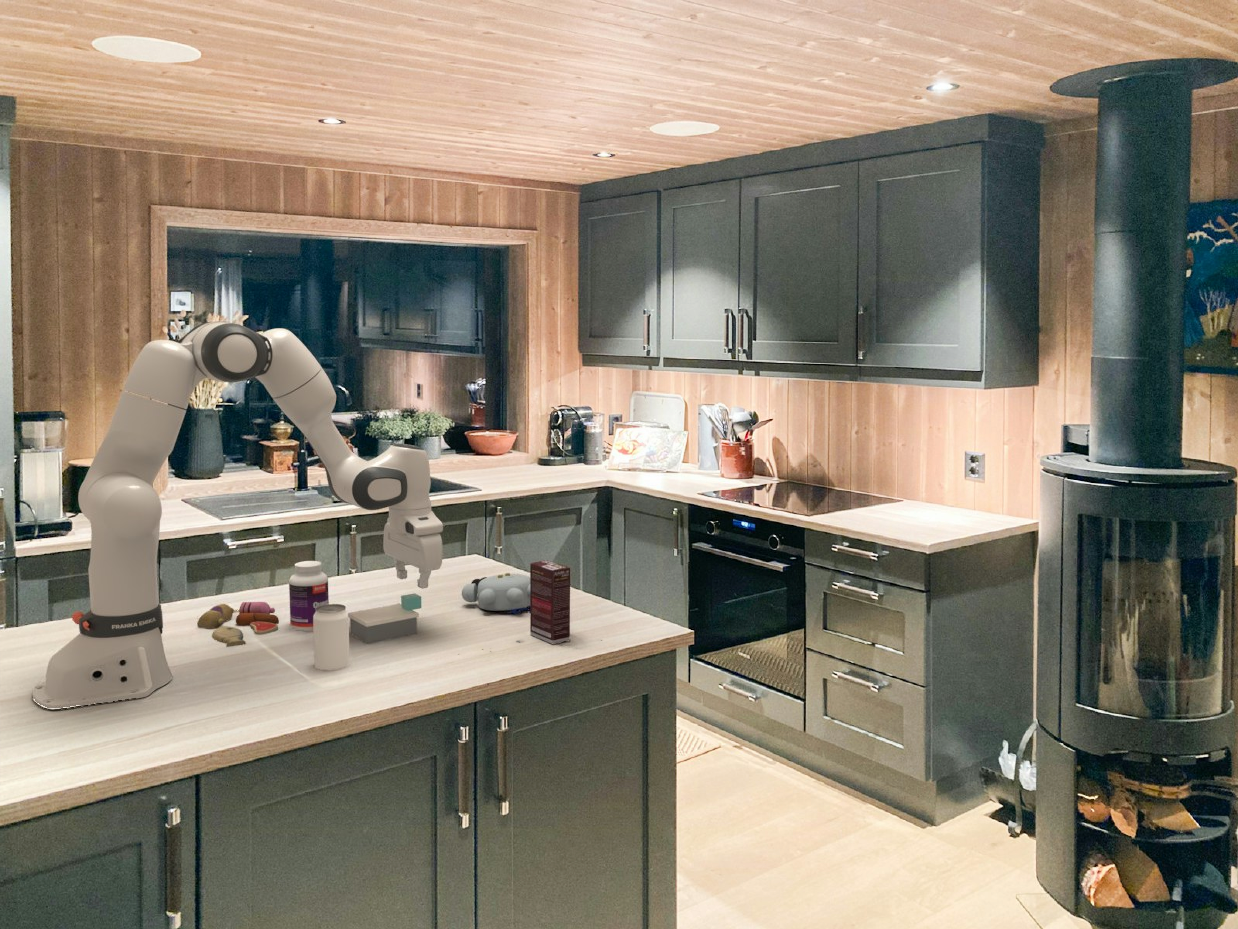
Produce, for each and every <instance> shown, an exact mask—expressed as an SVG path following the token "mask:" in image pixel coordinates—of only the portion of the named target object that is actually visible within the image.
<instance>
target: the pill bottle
mask: <svg viewBox="0 0 1238 929" xmlns="http://www.w3.org/2000/svg"><path fill="white" fill-rule="evenodd" d="M322 565H323V564H322V562H321V561H316V560H304V561H299V562H296V563H294V572H295V573H294V574H292V575H291V576H290V578H289V579H288V589H289V591H288V592H289V618H290V619H289V622H290V623H289V625H290V628H291V629H292V630H295V631H299V632H300V631H302V632H307V631H308V632H309V631H311V632H312V631H314V630H313V616H314V614H315V612H316V610H315V608H316V607H318V606H321V605H326V604H330V602H329V600H330V599H329V578H328V575H327V574H325V572H322Z"/></svg>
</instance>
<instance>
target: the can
mask: <svg viewBox="0 0 1238 929" xmlns="http://www.w3.org/2000/svg"><path fill="white" fill-rule="evenodd" d="M346 608H347V607H346V606H345V605H344V604H340V603H339V604H338V603H329V604H326V605H321V606H318V607H316V608H315V610H316V612H315V614H314V616H313V630H312V631H313V653H314V654H313V656H314V657H313V658H314V660H313V661H314V667H315V669H316V670H320V671H337V670H341V669H345V668H346V667H349V666H350V630H349V627H350V625H349V623H350V622H349V617H348V613H349V612H348V611H347V610H346Z"/></svg>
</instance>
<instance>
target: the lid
mask: <svg viewBox="0 0 1238 929" xmlns="http://www.w3.org/2000/svg"><path fill="white" fill-rule="evenodd" d="M400 598H401V600H400V602H401V603H396V604H391V605H386V606H385V605H383V606H380V607H375V608H368V609H363V610H358V611H353V612H347V613H348V618H349V619H350V618H351V619H353V620H355V621H357V622H359V623H360V624H362V625H364V626H366V627H368V626H374V625H379V624H384V623H389V622H394V621H400V620H405V619H410V618H415V617H417V618H419V612H417V611H415V610H420V609H422V596H421V595H419V594H416V593H414V592H413V593H409V594H403V595H401V596H400Z"/></svg>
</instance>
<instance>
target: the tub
mask: <svg viewBox="0 0 1238 929" xmlns="http://www.w3.org/2000/svg"><path fill="white" fill-rule="evenodd" d="M349 619H350V620H349V621H350V622H349V623H350V625H349V627H350V630H349V633H350V635H351V636H353V637H355V638H356V639H357V640H358V639H359V640H360V641H362V642H363V643H365V644H367V645H370V644H375V643H379V642H384V641H388V640H393V639H400V638H403V637H409V636H412V635H418V622H417V621H418V617H415V618H410V619H405V620H400V621H394V622H389V623H384V624H379V625H374V626H368V627H366V626H364V625H362V624H360V623H359V622H357V621H355V620H353V619H351V618H350V617H349Z"/></svg>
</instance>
